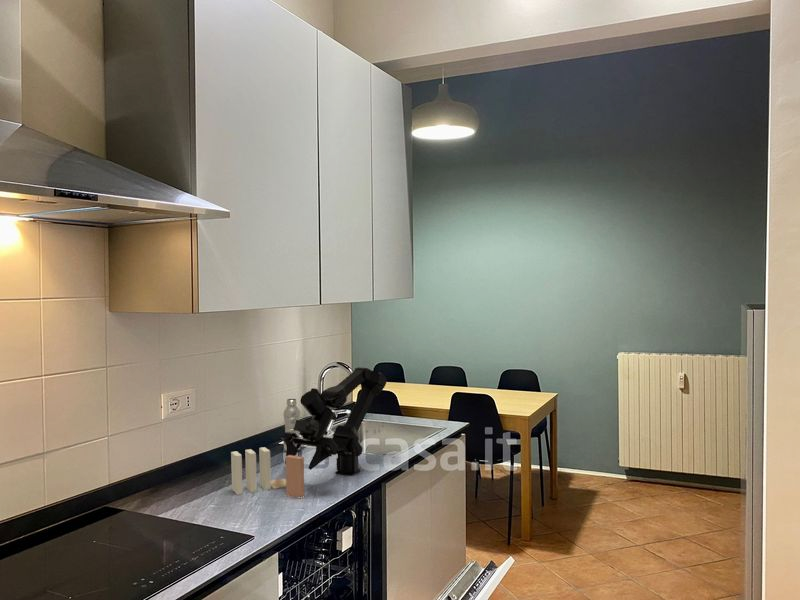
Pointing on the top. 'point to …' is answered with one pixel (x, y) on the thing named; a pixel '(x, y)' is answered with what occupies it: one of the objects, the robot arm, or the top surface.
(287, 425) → the plastic bottle
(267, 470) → the ivory domino
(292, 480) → the terracotta domino
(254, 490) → the ivory domino
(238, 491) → the ivory domino
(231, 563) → the top surface
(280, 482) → the birch pad
